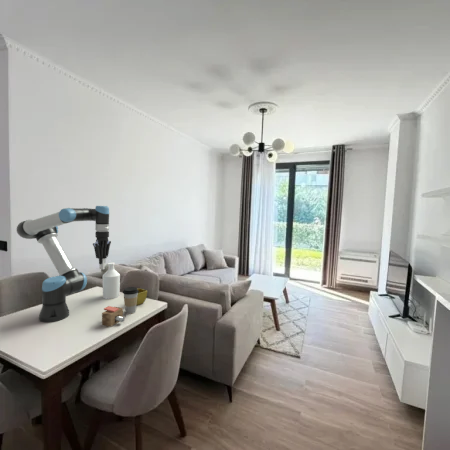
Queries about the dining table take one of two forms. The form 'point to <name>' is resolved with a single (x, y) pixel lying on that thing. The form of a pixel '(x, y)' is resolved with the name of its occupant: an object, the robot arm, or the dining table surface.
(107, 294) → the bottle
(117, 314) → the block
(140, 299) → the flower pot
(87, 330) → the dining table surface
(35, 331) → the dining table surface
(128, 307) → the coffee cup
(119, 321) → the pin
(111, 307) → the block
